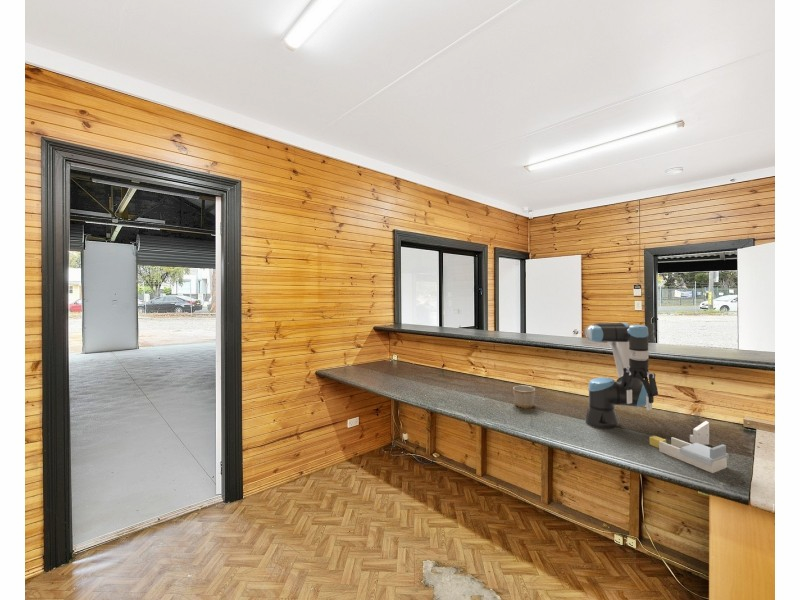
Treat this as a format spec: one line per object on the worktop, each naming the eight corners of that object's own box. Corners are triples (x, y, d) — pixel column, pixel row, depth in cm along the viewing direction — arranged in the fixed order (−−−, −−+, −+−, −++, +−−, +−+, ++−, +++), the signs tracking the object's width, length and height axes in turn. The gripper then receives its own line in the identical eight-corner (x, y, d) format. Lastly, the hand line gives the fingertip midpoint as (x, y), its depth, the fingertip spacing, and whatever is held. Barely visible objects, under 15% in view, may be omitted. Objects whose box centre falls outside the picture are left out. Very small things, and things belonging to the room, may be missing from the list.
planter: (513, 408, 218) (512, 391, 217) (513, 401, 230) (513, 384, 229) (535, 409, 214) (535, 392, 213) (535, 402, 226) (534, 385, 225)
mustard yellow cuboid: (649, 444, 166) (649, 437, 166) (654, 443, 167) (654, 435, 167) (661, 449, 162) (661, 441, 161) (666, 447, 163) (666, 439, 163)
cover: (679, 453, 151) (679, 439, 150) (697, 447, 155) (697, 433, 154) (710, 465, 140) (710, 450, 140) (728, 458, 145) (728, 444, 144)
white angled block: (718, 438, 163) (709, 422, 163) (699, 450, 163) (690, 434, 163) (711, 434, 167) (702, 419, 166) (692, 446, 167) (683, 431, 166)
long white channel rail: (659, 451, 160) (659, 441, 159) (672, 446, 163) (672, 437, 163) (712, 473, 141) (712, 462, 141) (726, 467, 144) (726, 456, 144)
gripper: (611, 355, 179) (612, 400, 180) (656, 364, 159) (657, 415, 160) (622, 353, 181) (623, 398, 183) (668, 362, 161) (668, 412, 163)
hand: (639, 406), depth 171 cm, fingers open, 9 cm apart
